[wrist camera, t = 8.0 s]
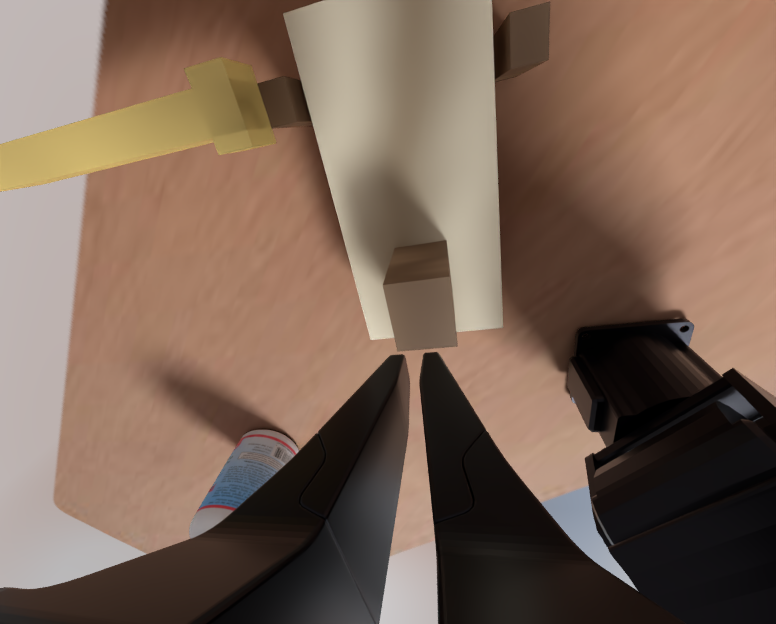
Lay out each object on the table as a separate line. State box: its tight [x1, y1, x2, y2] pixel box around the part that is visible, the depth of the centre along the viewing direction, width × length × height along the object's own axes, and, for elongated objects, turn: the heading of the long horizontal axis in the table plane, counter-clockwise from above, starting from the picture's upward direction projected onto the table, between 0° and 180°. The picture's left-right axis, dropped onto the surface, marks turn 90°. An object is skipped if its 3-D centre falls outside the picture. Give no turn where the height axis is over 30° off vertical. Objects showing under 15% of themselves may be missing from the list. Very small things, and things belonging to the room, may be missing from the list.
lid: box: [283, 0, 503, 351], centre depth 13 cm, size 7×14×5 cm, turn 11°
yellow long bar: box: [0, 57, 276, 192], centre depth 13 cm, size 12×3×2 cm, turn 101°
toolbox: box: [258, 2, 550, 128], centre depth 16 cm, size 10×14×5 cm
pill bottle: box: [189, 430, 299, 538], centre depth 28 cm, size 6×6×11 cm
